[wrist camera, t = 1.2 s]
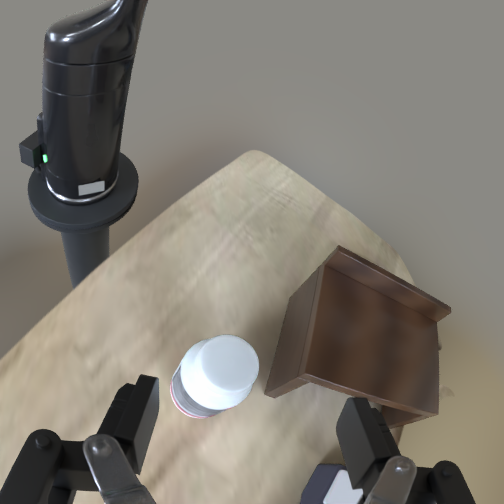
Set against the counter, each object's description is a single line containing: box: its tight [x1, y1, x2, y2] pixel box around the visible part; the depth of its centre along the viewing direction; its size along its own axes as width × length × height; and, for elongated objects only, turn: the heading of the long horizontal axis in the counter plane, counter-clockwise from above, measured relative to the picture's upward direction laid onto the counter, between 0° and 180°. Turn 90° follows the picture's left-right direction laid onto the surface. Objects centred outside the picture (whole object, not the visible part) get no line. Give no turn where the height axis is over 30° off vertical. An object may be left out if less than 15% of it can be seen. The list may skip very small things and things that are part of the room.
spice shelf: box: [264, 245, 451, 429], centre depth 29 cm, size 16×12×10 cm
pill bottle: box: [170, 335, 259, 418], centre depth 23 cm, size 5×5×10 cm
